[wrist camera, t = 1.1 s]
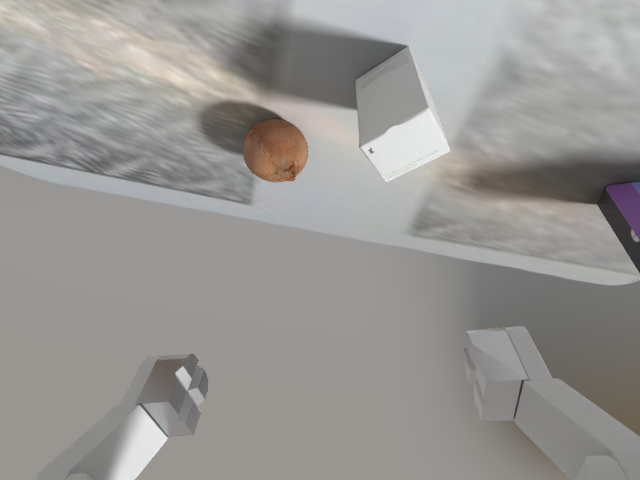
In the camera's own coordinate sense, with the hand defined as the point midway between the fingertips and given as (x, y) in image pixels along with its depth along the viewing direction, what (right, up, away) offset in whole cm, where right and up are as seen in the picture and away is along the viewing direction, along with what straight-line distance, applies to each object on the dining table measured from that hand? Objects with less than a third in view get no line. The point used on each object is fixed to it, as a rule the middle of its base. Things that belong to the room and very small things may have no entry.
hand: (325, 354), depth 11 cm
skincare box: (+9, +25, +39) cm, 47 cm away
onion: (-7, +20, +46) cm, 51 cm away
